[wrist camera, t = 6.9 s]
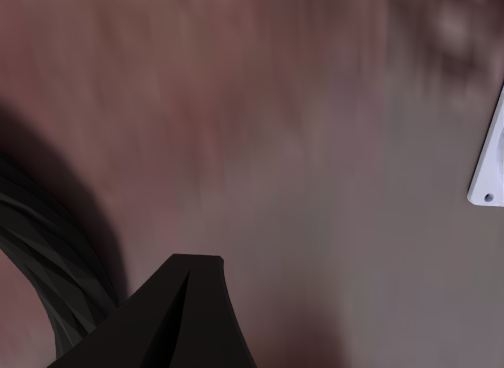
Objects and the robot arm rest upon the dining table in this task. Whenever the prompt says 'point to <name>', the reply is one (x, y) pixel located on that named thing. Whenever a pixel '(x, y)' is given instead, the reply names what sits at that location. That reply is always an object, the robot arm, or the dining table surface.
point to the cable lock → (53, 257)
